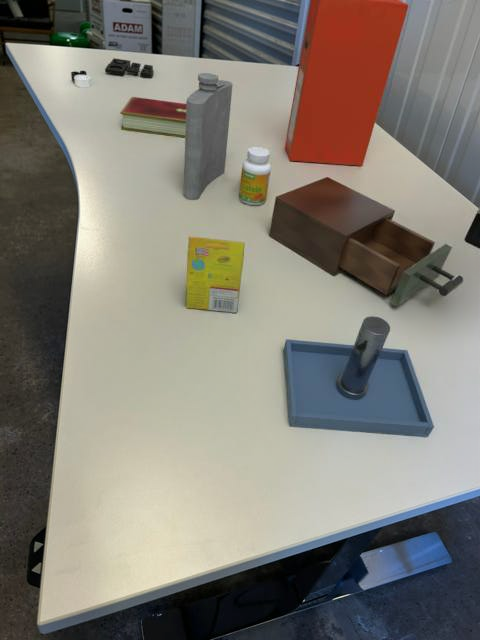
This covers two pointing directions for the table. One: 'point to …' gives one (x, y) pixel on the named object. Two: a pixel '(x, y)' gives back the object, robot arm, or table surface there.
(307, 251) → the cabinet
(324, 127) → the file binder
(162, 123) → the hardcover book
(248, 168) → the supplement bottle
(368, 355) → the grey rod with base
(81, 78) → the black white parts set
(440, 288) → the drawer
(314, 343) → the tray
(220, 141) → the hip flask
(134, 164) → the table surface
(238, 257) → the crayon box
